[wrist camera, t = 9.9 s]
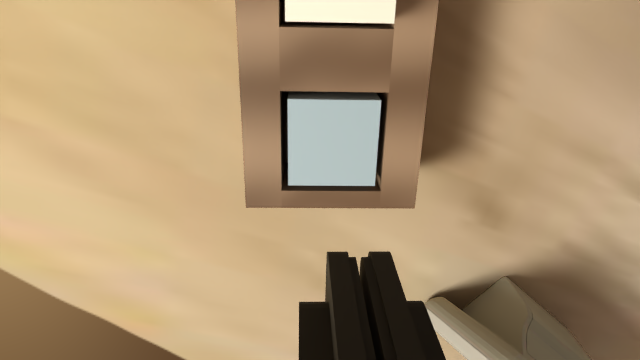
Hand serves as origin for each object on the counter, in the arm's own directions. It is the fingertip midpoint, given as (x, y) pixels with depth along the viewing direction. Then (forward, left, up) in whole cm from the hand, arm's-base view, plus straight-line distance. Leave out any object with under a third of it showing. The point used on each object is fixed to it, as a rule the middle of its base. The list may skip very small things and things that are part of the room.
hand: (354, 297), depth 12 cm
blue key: (0, 0, -18) cm, 18 cm away
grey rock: (+19, +16, -20) cm, 32 cm away
